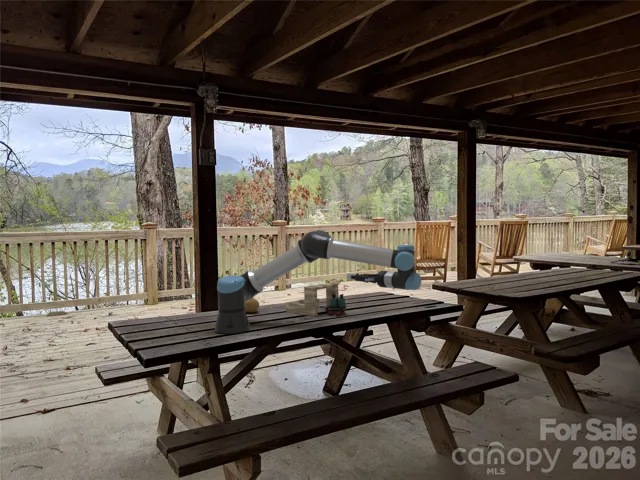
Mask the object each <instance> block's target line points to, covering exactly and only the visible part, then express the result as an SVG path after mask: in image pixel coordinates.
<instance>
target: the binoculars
mask: <svg viewBox="0 0 640 480" xmlns="http://www.w3.org/2000/svg"><path fill="white" fill-rule="evenodd" d="M330 302H331V305H329V306H328V307H326V308H324V309H325V311H326V312H327V316H328V317H329V316H330V317H332V316H335V317H340V316H343V315H347V313H346V310H347V304H346V299H345V298H344V293H341V294H339V298H338V297H336V294H335V293H332V298H331V299H330ZM330 309H332V310H330Z"/></svg>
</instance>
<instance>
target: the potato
mask: <svg viewBox="0 0 640 480" xmlns="http://www.w3.org/2000/svg"><path fill="white" fill-rule="evenodd" d="M259 308H260V301H259V300H257V299H256V298H254V297H253V298H251V299H249V300H246V301H245V313H255V312H257V311H258V310H259Z"/></svg>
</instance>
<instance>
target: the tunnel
mask: <svg viewBox="0 0 640 480" xmlns="http://www.w3.org/2000/svg"><path fill="white" fill-rule="evenodd" d="M319 290H325V299H326V300H325V301H326V303H325V306H326V307H328V306H329V305H331V302H330V299H331V298H332V293H335V294H336V297H338V298H340V296H339V295H340V294H339V293H340V292H339V283H334V282H326V283H320V284H313V285H308V286H307V285H306V286H304V287H303V296H304V297H303V299H297V300H292V301H291V300H290V301H286V302H285V311H286V313H291V314H296V313H297V315H302V314H303V315H302V316H308V317H313V318H315V317H318V309H320V308H321V306H320V298H318V291H319ZM330 310H332V309H330Z"/></svg>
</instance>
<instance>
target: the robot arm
mask: <svg viewBox="0 0 640 480" xmlns="http://www.w3.org/2000/svg"><path fill="white" fill-rule="evenodd" d="M296 242H297V243H296V245H295V246H293V247H292V248H291V249H289V250H287V251H285V252H283V253H281V255H279V256H277V257H275V258H273V259H272V260H270V261H269V262H266V263H265V264H263V265H262V266H260V267H259V268H256V269H255V270H253V269H249V270H247V271H246V272H244V273H242V274H241V275H235V274H234V275H227V276H222V277H220V278H219V279H218V280H217V284H216V285H217V286H216V290H217V309H218V311H217V313H218V314H217V318H216V322H215V325H214V332H216V333H218V334H225V335H226V334H228V335H229V334H232V335H233V334H239V333H240V334H241V333H245V332H247V331H249V330H251V329H250V321H249V318H248V316H247V312H245V301H246V300H249V299H251V298H254V297H256V296H257V295H258V294H260V293H262V292H263V291H264V288H265V287H266V286H267V285H269V284H271V283H273V282H274V281H276V280H277V279H279V278H281V277H283V276H284V275H286V274H288V273H289V272H292V271H293V270H295V269H296V268H298V267H300V266H302V265H303V264H305V263H309V264H311V263H314V262H316V260H318V259H323V260H330V259H332V258H333V259H339V260H344V261H351V262H356V263H357V262H358V263H363V264H367V265H375V266H379V267H380V266H381V267H386V268H392V269H396V270H397V271H396V270H395V271H393V270H392V271H391V270H380V271H379V272H378V273H357V272H356V273H349V272H347V273H346V280H351V281H355V282H360V283H366V284H369V283H371V284H377V286H379V287H380V288H385V289H386V288H387V289H392V290H393V291H394V290H395V289H397V290H398V289H399V290H404V291H405V290H406V291H417V290H418V289H420V287H421V285H422V277H421V274H420V273H417V272H416V257H415V256H416V251H415V246H414V245H413V244H399V245H397V247H396V249H391V248H387V247H380V246H374V245H368V244H362V243H355V242H350V241H345V240H338V239H335V238H334V237H333V236H331V235H330V234H329V233H328V232H327V231H326V230H321V229H319V230H317V229H316V230H311V231H310V232H307V233H306V234H305V235H303V237H302V238H300V239H298V240H297V241H296Z"/></svg>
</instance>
